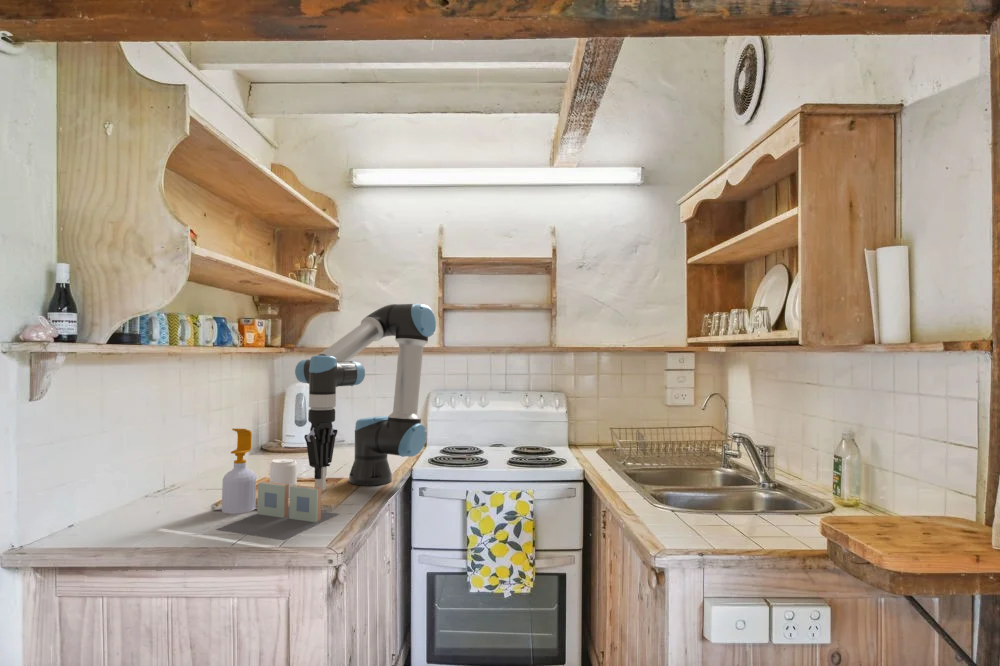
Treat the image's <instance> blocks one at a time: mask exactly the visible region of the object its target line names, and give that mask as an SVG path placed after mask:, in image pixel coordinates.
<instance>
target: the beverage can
mask: <svg viewBox="0 0 1000 666" xmlns="http://www.w3.org/2000/svg"><path fill="white" fill-rule="evenodd" d="M269 465H270V466H269V467H270V469H269V475H270V476H269V482H274V483H283V484H289V497H288V499H290V486H293V485H298V484H297V482H298V480H297V479H298V463H297V461H296V458H291V457H281V458H275V459H274V458H273V459H272V462H271V463H270V464H269Z"/></svg>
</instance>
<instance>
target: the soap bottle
mask: <svg viewBox="0 0 1000 666" xmlns="http://www.w3.org/2000/svg"><path fill="white" fill-rule="evenodd" d="M231 431H234V432H236V434H237V444H236V445H237V447H236V449H234V450H232V451H230V454H234V456H236V460H234V461H233V468H232V469H231V470H230V471H228V472H227V473H225V474H224V476H223V478H222V487H221V488H222V492H221V494H222V495H221V496H222V497H221V512H222V513H223V514H224V513H225V514H230V515H231V514H232V515H233V514H234V515H235V514H243V513H244V514H245V513H249V512H251V511H255V509H256V503H257V502H256V500H257V497H256V496H257V474H256V473H255V472H254V471H253V470H251V469H248V468H247V460H246V459H244V456H246V454H247V453H248V452H250V451H251V449H252V431H251V430H249V429H247V428H232V430H231Z"/></svg>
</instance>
